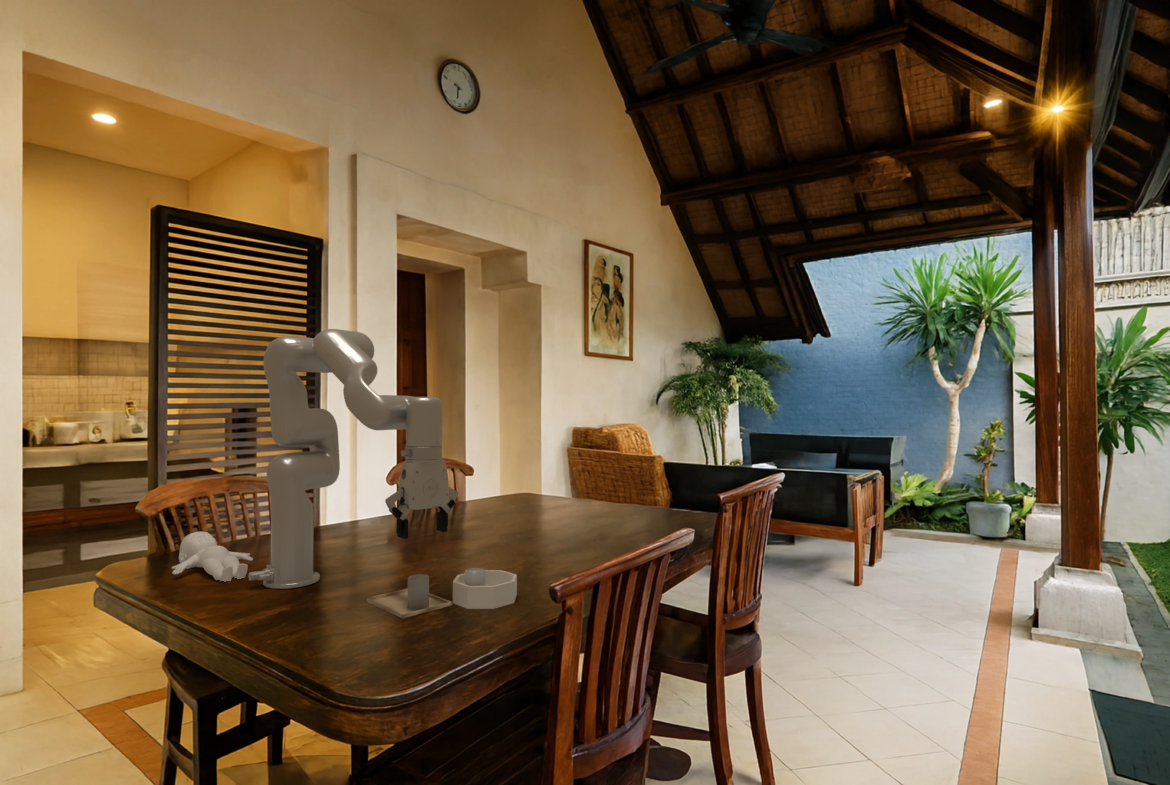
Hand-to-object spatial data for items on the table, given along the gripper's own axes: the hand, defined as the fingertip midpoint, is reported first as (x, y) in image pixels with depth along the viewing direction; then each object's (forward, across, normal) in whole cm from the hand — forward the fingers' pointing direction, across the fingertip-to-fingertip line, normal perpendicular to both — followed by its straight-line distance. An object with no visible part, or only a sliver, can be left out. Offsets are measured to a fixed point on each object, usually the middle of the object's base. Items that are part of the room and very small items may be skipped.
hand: (422, 534), depth 137 cm
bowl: (+16, +13, -6) cm, 21 cm away
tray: (+16, -1, +4) cm, 16 cm away
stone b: (+15, -1, 0) cm, 15 cm away
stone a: (+15, +10, -6) cm, 19 cm away
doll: (+17, -21, +66) cm, 71 cm away
